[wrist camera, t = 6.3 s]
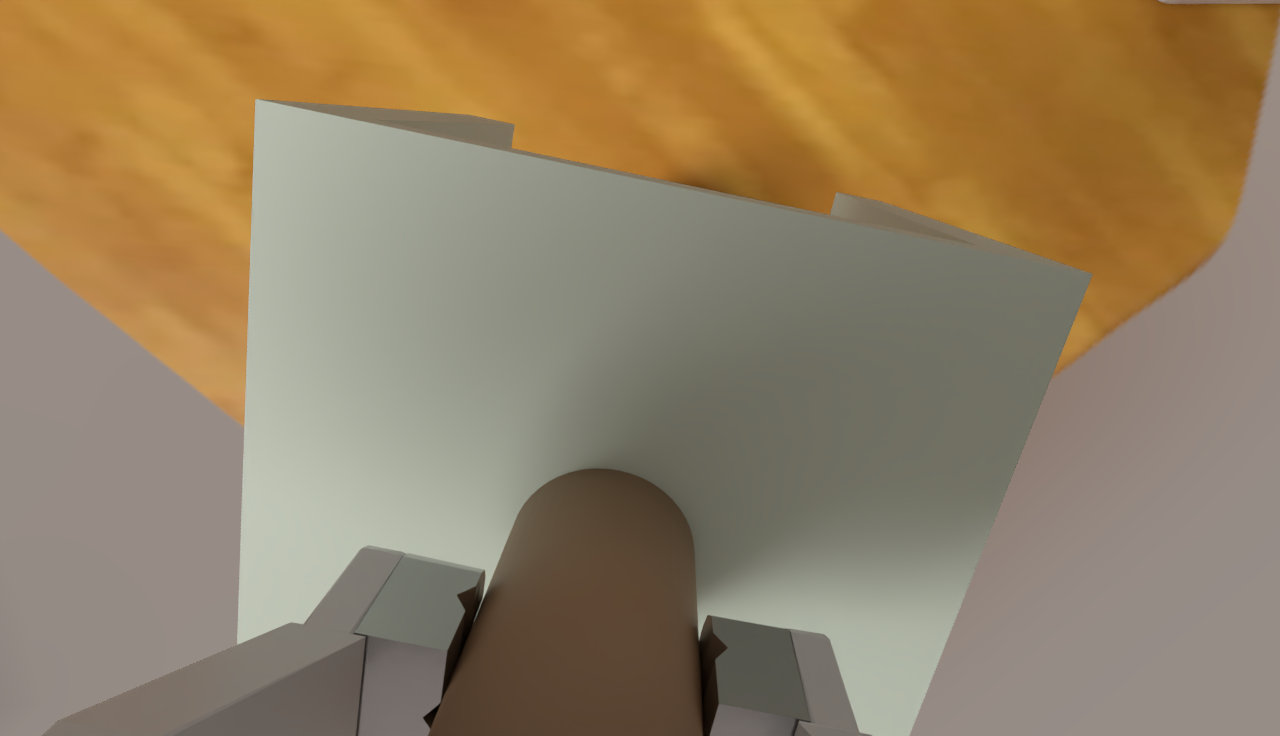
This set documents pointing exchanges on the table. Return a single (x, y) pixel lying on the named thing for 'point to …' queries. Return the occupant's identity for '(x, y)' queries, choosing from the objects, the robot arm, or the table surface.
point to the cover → (624, 412)
